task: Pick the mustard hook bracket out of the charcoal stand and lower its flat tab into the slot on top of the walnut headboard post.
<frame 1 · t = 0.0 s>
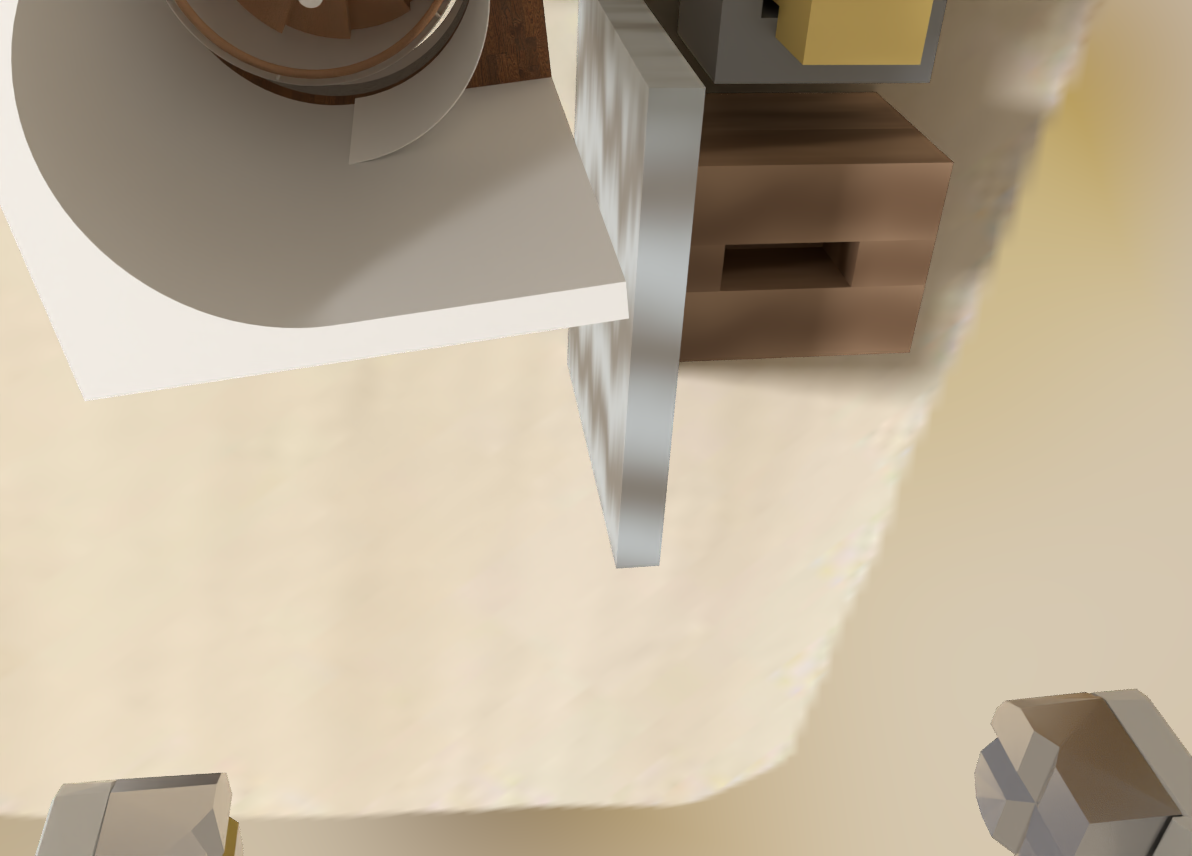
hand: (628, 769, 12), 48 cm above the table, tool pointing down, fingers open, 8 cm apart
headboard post: (737, 184, 60), on the table
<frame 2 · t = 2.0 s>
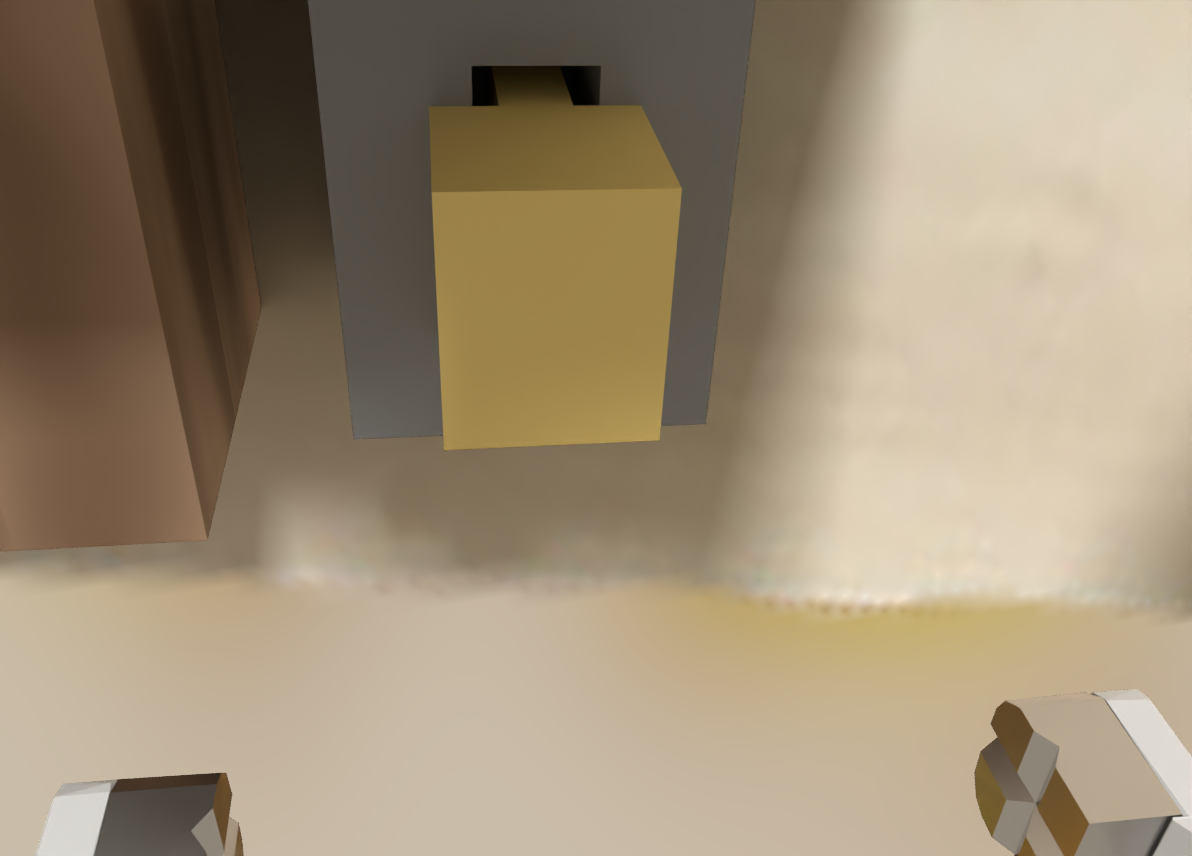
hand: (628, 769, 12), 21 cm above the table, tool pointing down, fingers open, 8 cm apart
bracket stand: (508, 97, 29), on the table
hook bracket: (520, 154, 26), point 4 cm above the table, touching bracket stand
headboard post: (8, 58, 27), on the table
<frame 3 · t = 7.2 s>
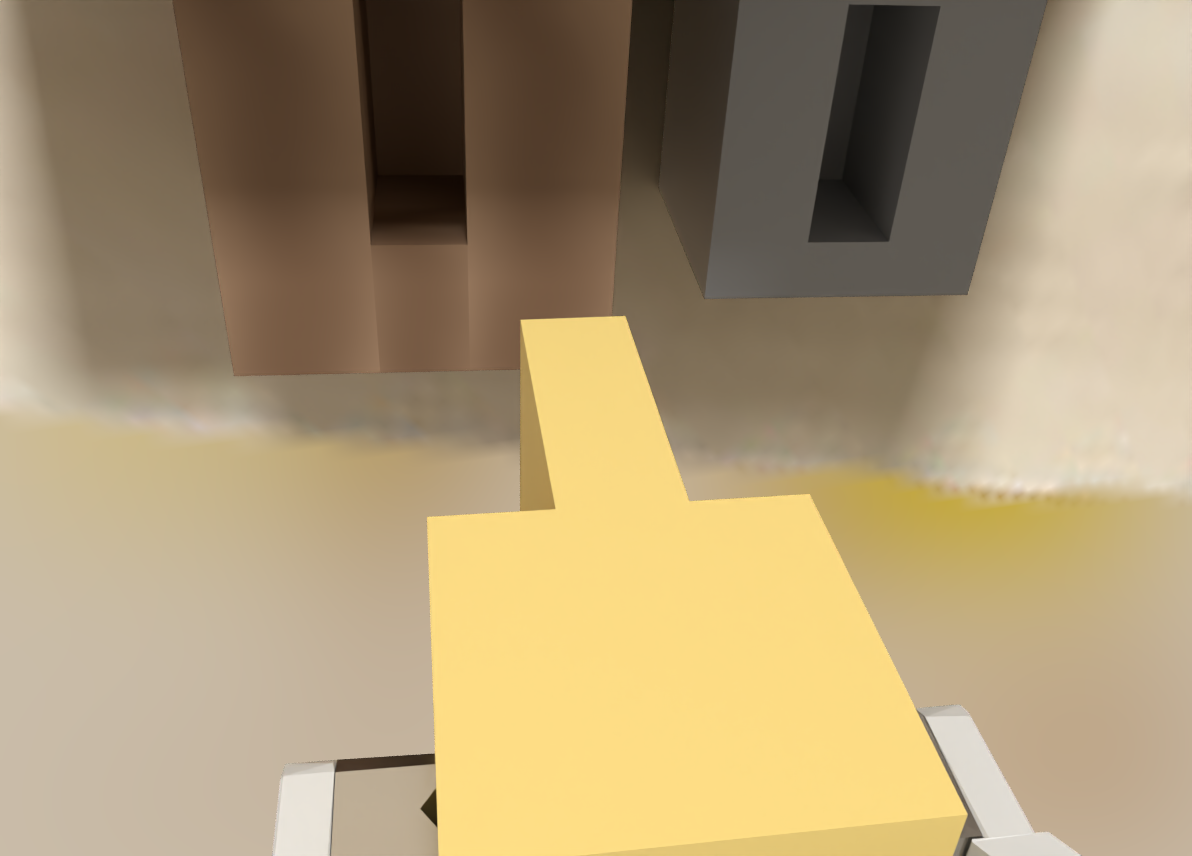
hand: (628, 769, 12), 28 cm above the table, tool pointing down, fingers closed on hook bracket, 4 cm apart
bracket stand: (791, 43, 36), on the table
hook bracket: (568, 469, 16), point 23 cm above the table, touching gripper
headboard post: (417, 4, 34), on the table
when the fingers open (12 cm above the table, at t = 10.7 s): hook bracket stays where it is, resting on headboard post.
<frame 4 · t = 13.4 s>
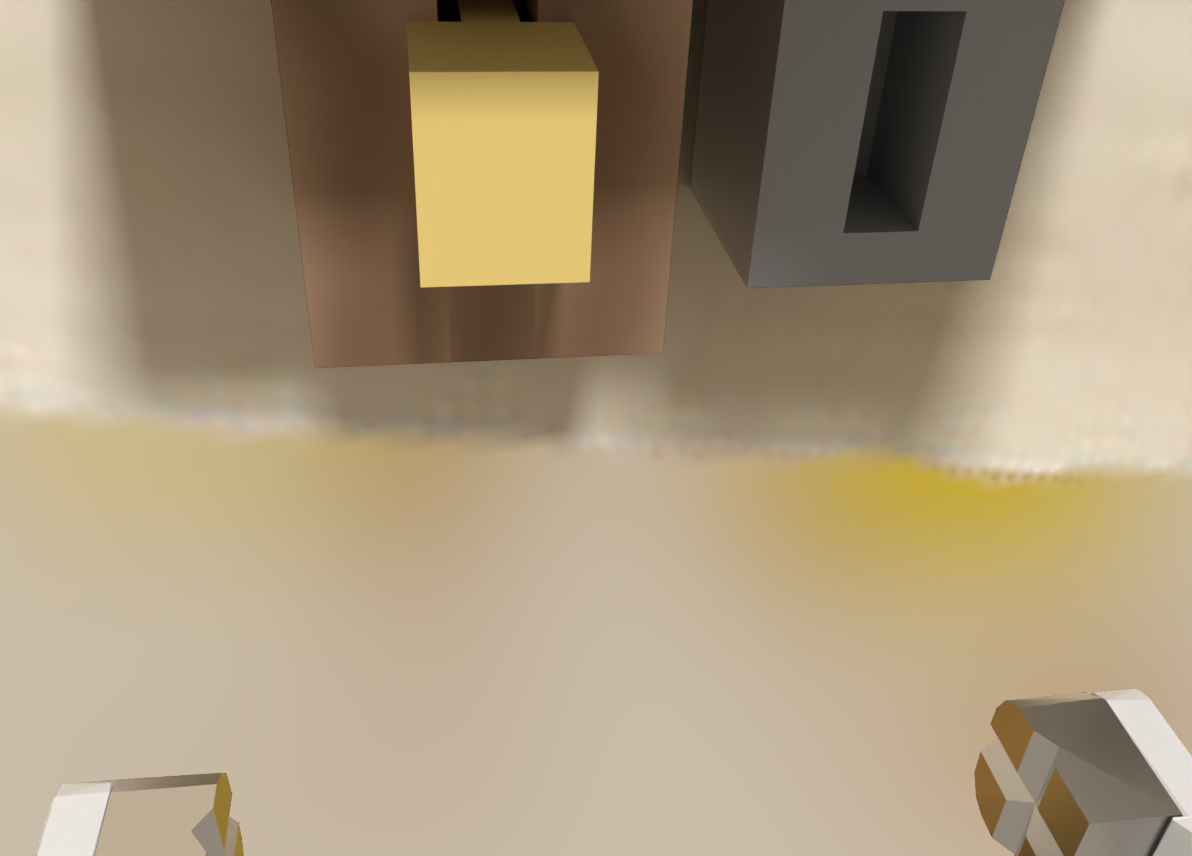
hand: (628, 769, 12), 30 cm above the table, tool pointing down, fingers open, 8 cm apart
bracket stand: (815, 49, 38), on the table
hook bracket: (481, 75, 31), point 6 cm above the table, touching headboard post
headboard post: (467, 18, 36), on the table
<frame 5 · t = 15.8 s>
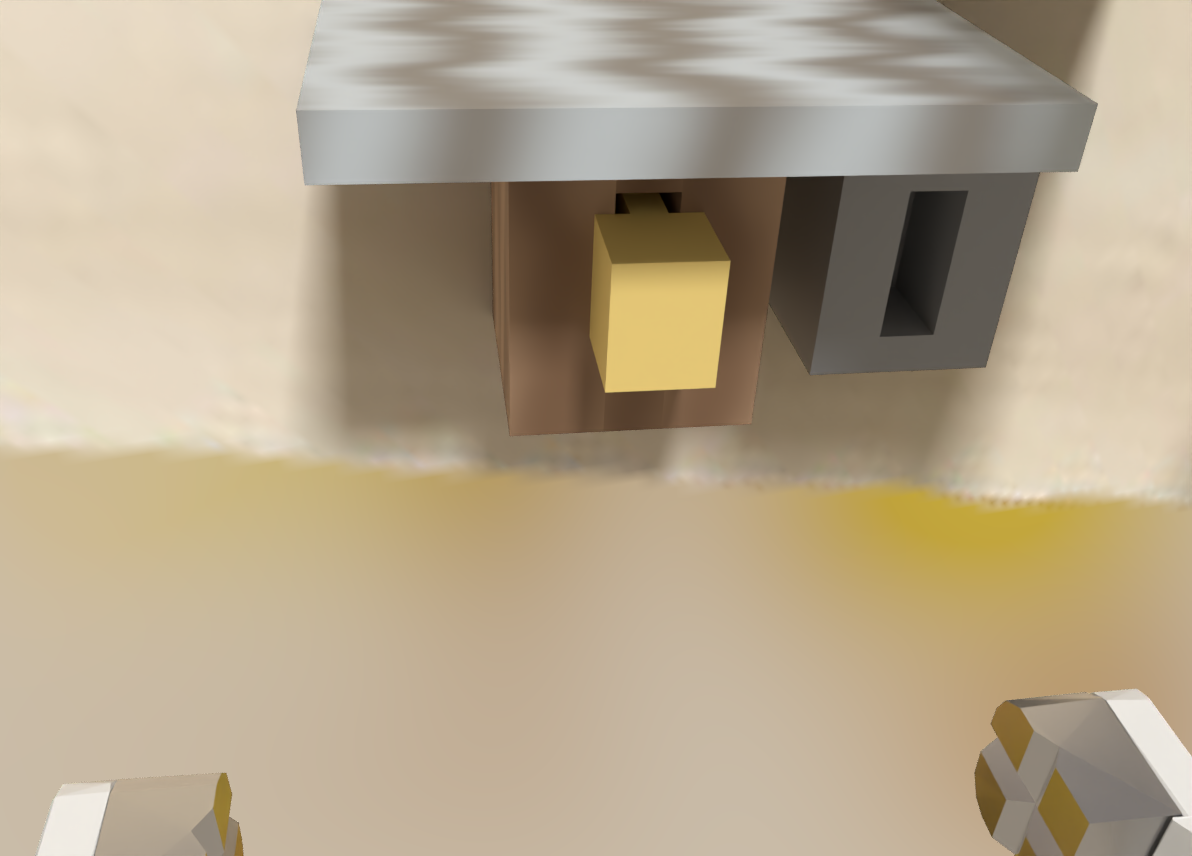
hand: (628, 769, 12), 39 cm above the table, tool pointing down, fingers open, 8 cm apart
bracket stand: (856, 189, 52), on the table
hook bracket: (627, 230, 45), point 6 cm above the table, touching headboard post
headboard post: (603, 173, 49), on the table
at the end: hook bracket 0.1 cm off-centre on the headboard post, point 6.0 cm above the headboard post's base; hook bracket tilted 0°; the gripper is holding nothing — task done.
